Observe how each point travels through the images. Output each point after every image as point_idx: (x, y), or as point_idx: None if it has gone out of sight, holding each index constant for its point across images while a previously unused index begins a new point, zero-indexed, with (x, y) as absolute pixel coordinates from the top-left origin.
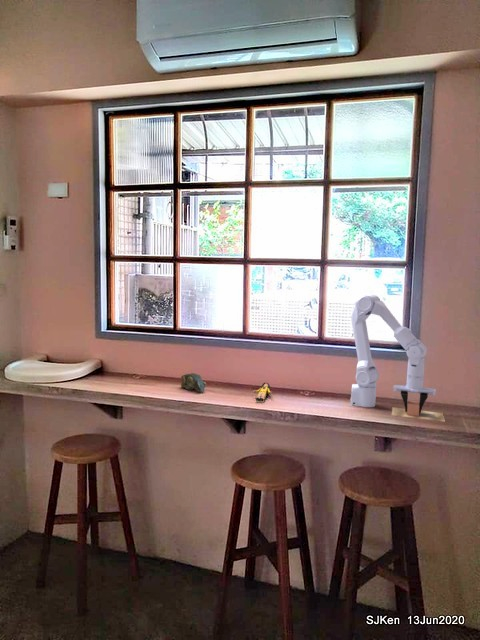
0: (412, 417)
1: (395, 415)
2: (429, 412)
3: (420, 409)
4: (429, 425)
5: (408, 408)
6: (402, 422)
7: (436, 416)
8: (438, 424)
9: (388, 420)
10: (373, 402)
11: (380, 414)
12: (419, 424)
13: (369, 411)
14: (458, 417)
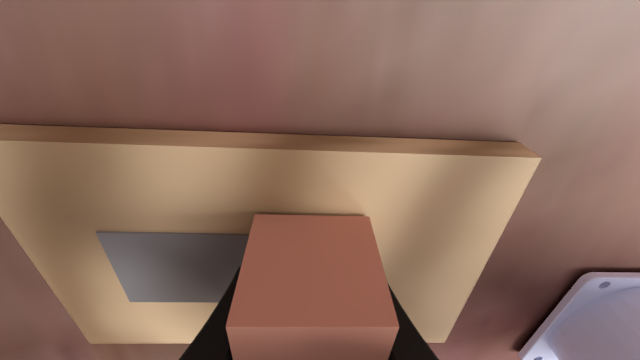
0: (320, 157)
1: (501, 160)
2: (181, 329)
3: (230, 298)
4: (125, 34)
5: (371, 270)
6: (439, 32)
7: (102, 267)
8: (52, 118)
9: (590, 51)
10: (630, 351)
11: (574, 218)
12: (242, 28)
13: (631, 256)
14: (6, 331)
